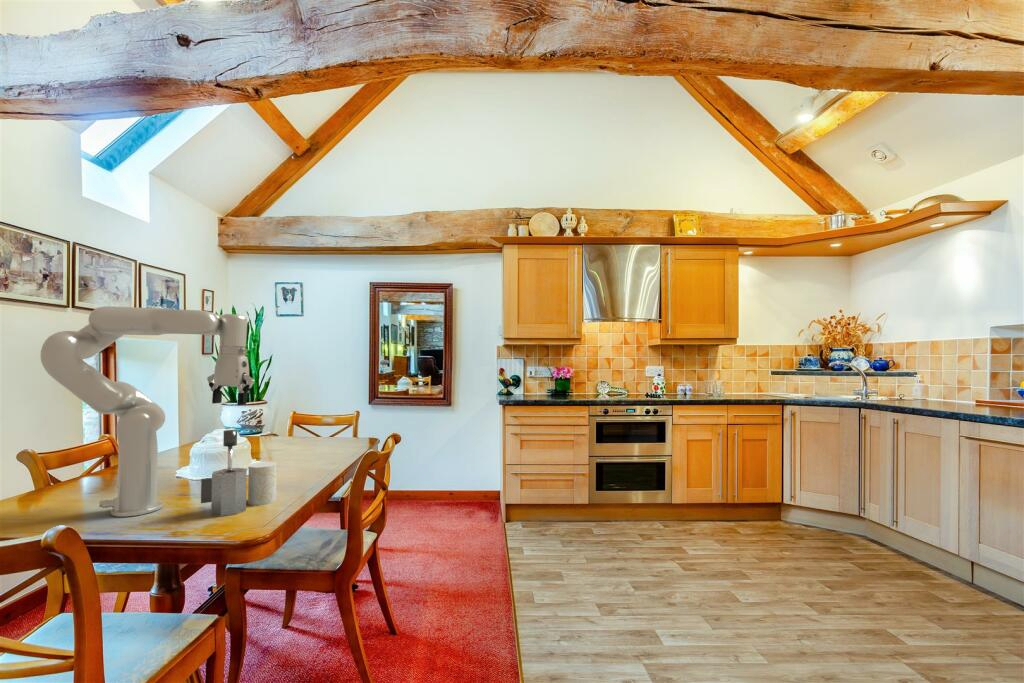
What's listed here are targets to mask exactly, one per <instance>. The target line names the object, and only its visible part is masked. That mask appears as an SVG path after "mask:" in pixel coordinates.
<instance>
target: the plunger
mask: <svg viewBox="0 0 1024 683" xmlns="http://www.w3.org/2000/svg"><path fill="white" fill-rule="evenodd" d="M222 442H223V447H227V469H228V473H231V472H232V468H233V447H235V446H237V445H238V429H225V430H223V440H222Z"/></svg>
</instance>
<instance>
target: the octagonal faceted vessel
mask: <svg viewBox="0 0 1024 683" xmlns="http://www.w3.org/2000/svg"><path fill="white" fill-rule="evenodd" d="M247 474H248V472H247V468H244V467H232V472H231V473H228V468H223V469H222V468H221V469H219V470H215V471H213V472H212V473H211V477H206V478H201V480H200V482H201V484H200V504H207V503H211V506H210V508H211V511H210V512H211V513H210V514H211V516H216V517H226V516H233V515H234V516H235V515H237V514H240V513H241V514H242V513H243V512H245V511H246V510H247V480H248V477H247Z"/></svg>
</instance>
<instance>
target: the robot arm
mask: <svg viewBox="0 0 1024 683" xmlns="http://www.w3.org/2000/svg"><path fill="white" fill-rule="evenodd" d="M175 334H176V335H177V334H178V335H202V336H219V348H218V355H217V358H216V361H215V364H214V365H215V366H214V371H213V372H214V373H213V374H211V375H209V376H207V378H206V379H207V382H208V386H209V388H210V391H211V392H212V397H211V398H212V400H211V403H212V405H213V404H221V403H223V402H222V398H223V391H222V388H223V387H232V388H233V387H235V388H237V390H238V391H239V392H238V393H237V404H236V405H237V406H246V405H247V401H248V399H247V398H248V394H249V392H250V390H252V388H253V385H254V384H255V379H254V378H252V377H251V376H250V364H249V358H248V356H246V353H248V349H247V348H246V346H247V336H248V317H247V316H246V315H243V314H238V313H235V314H234V313H224V314H219V313H214V312H211V311H207V310H202V309H201V310H199V309H198V310H197V309H169V308H159V307H157V308H155V307H138V306H137V307H136V306H135V307H134V306H133V307H131V306H130V307H129V306H115V305H112V306H111V305H109V306H108V305H106V306H99V307H97V308H95V309H93V310H91V312H90V313H89V315H88V324H87V325H86V326H84V327H82V328H81V329H80V330H77V331H74V330H63V331H58V332H57V331H56V333H55V332H54V333H53V334H51V335H49V336H48V337H47V338H46V339H45V340H44V342H43V343H42V346H41V350H40V361H41V364H42V366H43V368H44V371H46V373H47V374H48V375H49V376H50V377H51V378H52V379H53V380H54V381H56V382H57V383H58V384H59V385H62V387H64V388H65V389H67V390H68V391H69V392H70V393H72V394H73V396H76V398H78V399H79V400H81V401H82V402H83V403H85V404H86V405H87V406H88V407H90V408H91V409H93V410H94V411H96V413H99V414H102V415H112V414H114V415H116V416H117V417H118V420H117V424H116V437H117V448H118V454H117V457H118V458H117V459H118V462H117V463H118V467H117V470H118V471H117V497H114V498H113V499H104V500H103V499H102V500H100V501H99V503H98V504H99V508H101V509H107V508H112V509H111V510H110V515H111V516H113V517H118V518H121V517H123V518H125V517H134V516H140V515H146V514H149V513H153V512H156V511H158V510H160V509H161V508H162V507H163V505H164V504H163V501H161V500H158V499H157V498H158V495H157V494H158V458H159V457H158V439H157V438H158V437H157V431H158V430H160V429H161V428H162V427H163V426H164V423H165V421H166V414H165V411H164V410H163V409H162V407H161V406H160V405H159V404H157V403H156V402H155V401H153V400H152V399H150V398H149V397H148V396H146V395H145V394H144V393H143V392H141V391H140V390H139V389H137V388H136V387H135V386H134V385H131V383H128V382H124V381H113V380H111V379H109V377H106V376H105V375H104V374H103V373H102V372H100V371H99V370H98V369H97V368H96V367H94V366H92V365H90V364H89V363H87V362H86V361H85V360H86V359H90V358H92V357H94V356H96V355H97V354H99V353H101V352H102V351H104V349H106V348H108V347H109V346H110V345H112V344H113V343H115V342H116V341H117V340H120V338H121V337H123V336H124V335H125V336H128V335H129V336H133V335H134V336H160V335H175Z"/></svg>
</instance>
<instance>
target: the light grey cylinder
mask: <svg viewBox="0 0 1024 683" xmlns="http://www.w3.org/2000/svg"><path fill="white" fill-rule="evenodd" d="M277 467H278V466H277V462H276V461H260V462H254V463H251V464H248V473H247V474H248V477H247V480H248V484H247V489H248V490H247V492H248V493H247V503H248V504H247V505H250V506H264V505H265V506H267V505H270V504H273V503H275V502H276V501H277V477H278V476H277V472H278V471H277Z"/></svg>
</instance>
